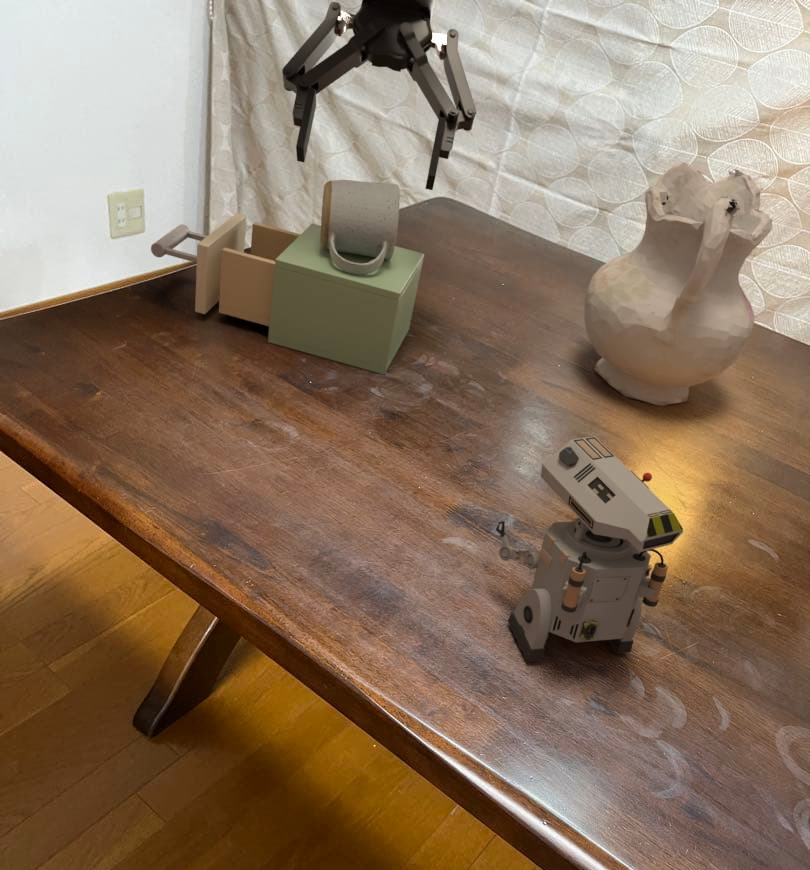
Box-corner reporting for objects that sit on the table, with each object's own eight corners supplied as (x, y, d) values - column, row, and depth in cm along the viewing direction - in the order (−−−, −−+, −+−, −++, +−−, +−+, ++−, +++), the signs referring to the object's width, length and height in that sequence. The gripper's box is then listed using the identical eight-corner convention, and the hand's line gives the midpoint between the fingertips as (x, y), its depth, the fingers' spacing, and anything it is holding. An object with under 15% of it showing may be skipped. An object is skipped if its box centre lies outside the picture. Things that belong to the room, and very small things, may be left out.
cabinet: (267, 342, 96) (275, 259, 90) (302, 300, 106) (311, 223, 100) (384, 374, 95) (400, 293, 89) (409, 329, 105) (424, 253, 99)
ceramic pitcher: (734, 452, 99) (860, 243, 84) (575, 413, 95) (677, 189, 80) (686, 363, 116) (784, 176, 100) (549, 328, 112) (630, 129, 97)
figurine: (576, 570, 75) (636, 424, 65) (636, 670, 66) (716, 519, 57) (479, 575, 72) (528, 423, 62) (530, 680, 64) (595, 523, 54)
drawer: (141, 296, 97) (141, 228, 92) (184, 263, 106) (185, 198, 101) (301, 341, 96) (309, 274, 91) (330, 303, 105) (339, 240, 100)
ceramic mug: (317, 232, 98) (325, 163, 93) (388, 243, 99) (400, 175, 94) (317, 272, 90) (326, 198, 85) (394, 283, 91) (408, 211, 86)
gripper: (283, -74, 87) (241, 121, 84) (525, -18, 88) (490, 175, 86) (287, -19, 94) (248, 162, 92) (510, 32, 96) (477, 211, 93)
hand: (365, 169), depth 89 cm, fingers open, 13 cm apart
